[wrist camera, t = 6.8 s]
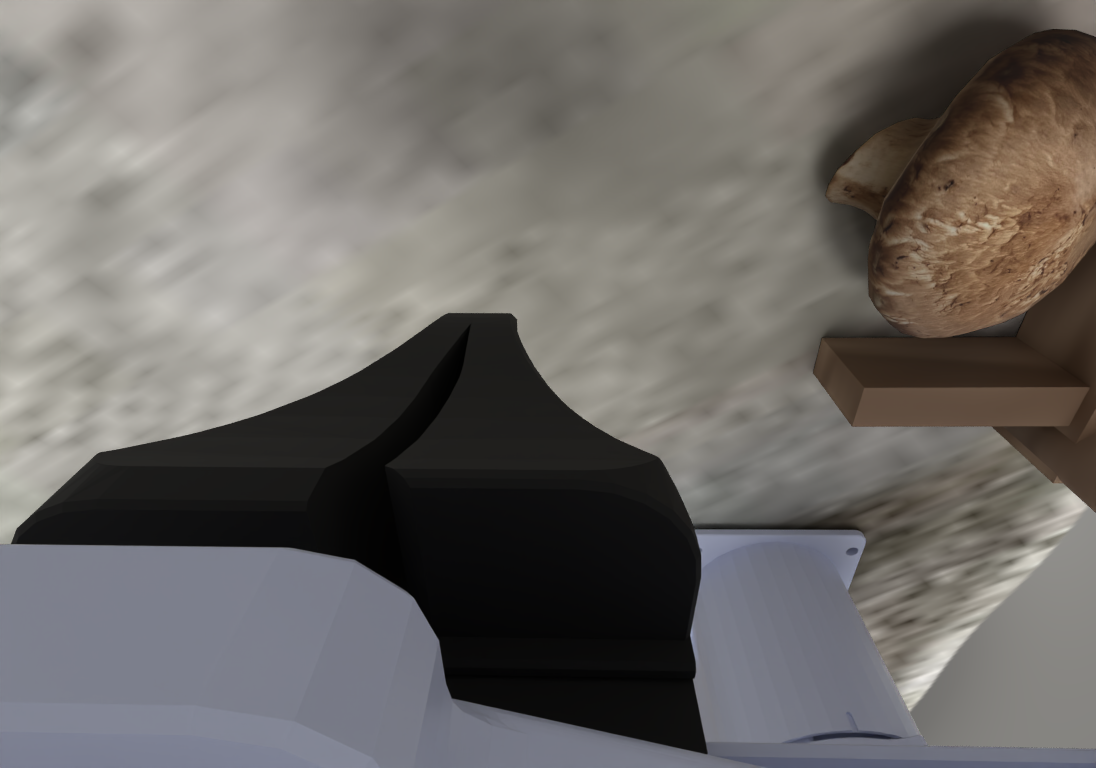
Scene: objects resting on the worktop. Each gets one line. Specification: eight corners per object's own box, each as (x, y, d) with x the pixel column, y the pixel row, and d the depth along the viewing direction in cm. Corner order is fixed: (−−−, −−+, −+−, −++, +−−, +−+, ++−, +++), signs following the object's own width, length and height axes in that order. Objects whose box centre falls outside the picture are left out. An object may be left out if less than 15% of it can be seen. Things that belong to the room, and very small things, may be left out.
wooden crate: (1034, 419, 23) (1169, 531, 18) (800, 420, 23) (868, 530, 18) (1366, -230, 14) (1855, -386, 8) (964, -218, 14) (1203, -365, 9)
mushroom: (745, 201, 16) (999, 282, 12) (925, -54, 15) (1258, -64, 11) (813, 323, 22) (996, 405, 18) (944, 143, 21) (1165, 184, 17)
